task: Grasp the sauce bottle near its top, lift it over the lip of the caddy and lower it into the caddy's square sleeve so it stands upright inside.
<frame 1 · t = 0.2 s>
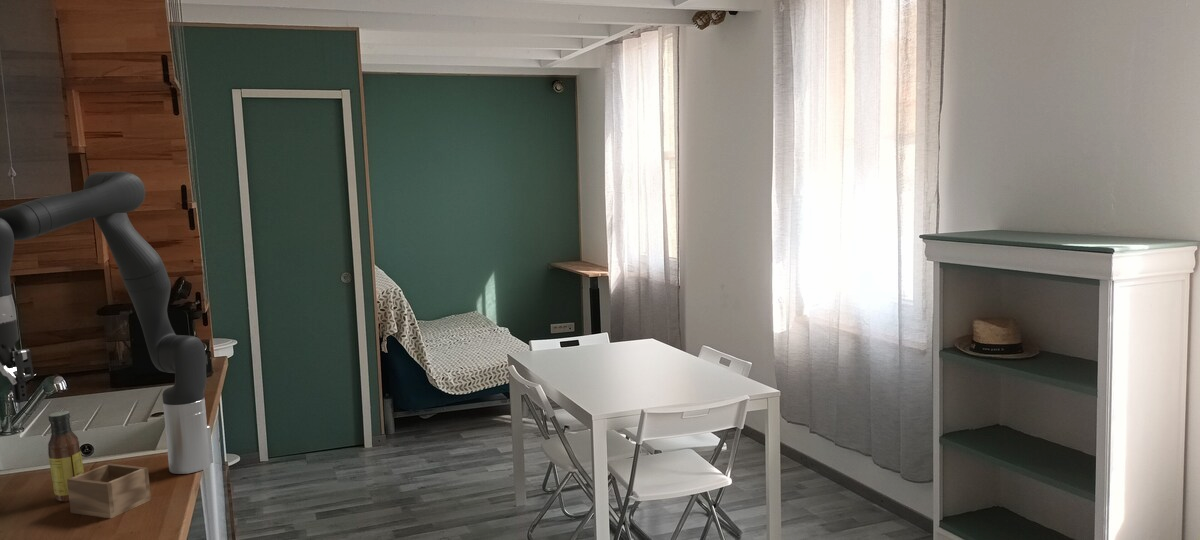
hand: (3, 401, 171), 29 cm above the table, fingers open, 8 cm apart
sauce bottle: (70, 498, 198), on the table
caddy: (111, 506, 192), on the table
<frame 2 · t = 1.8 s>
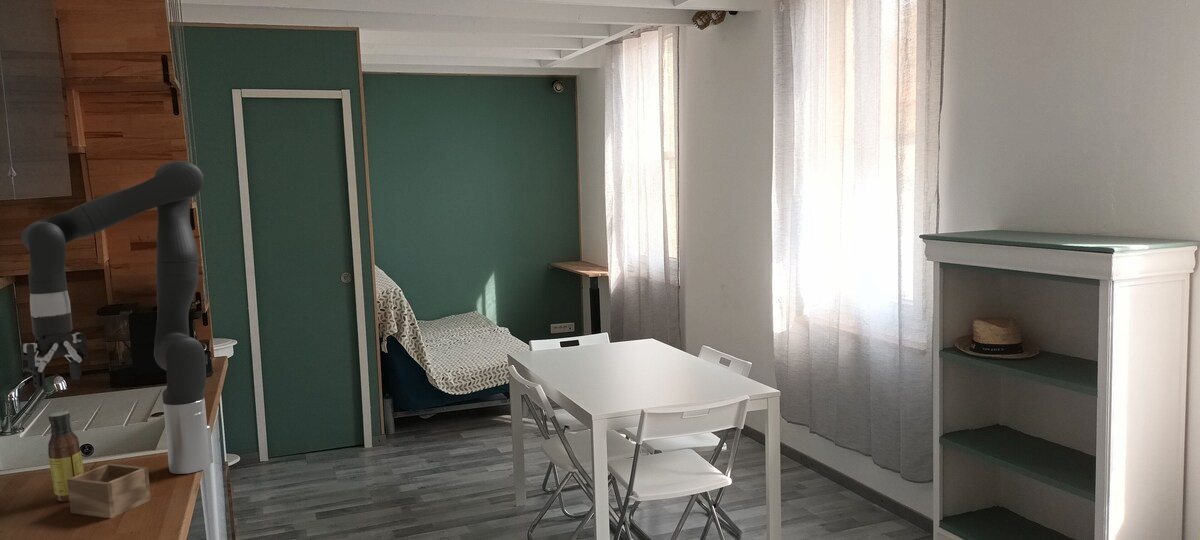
hand: (58, 383, 195), 26 cm above the table, fingers open, 8 cm apart
nothing on the table moved.
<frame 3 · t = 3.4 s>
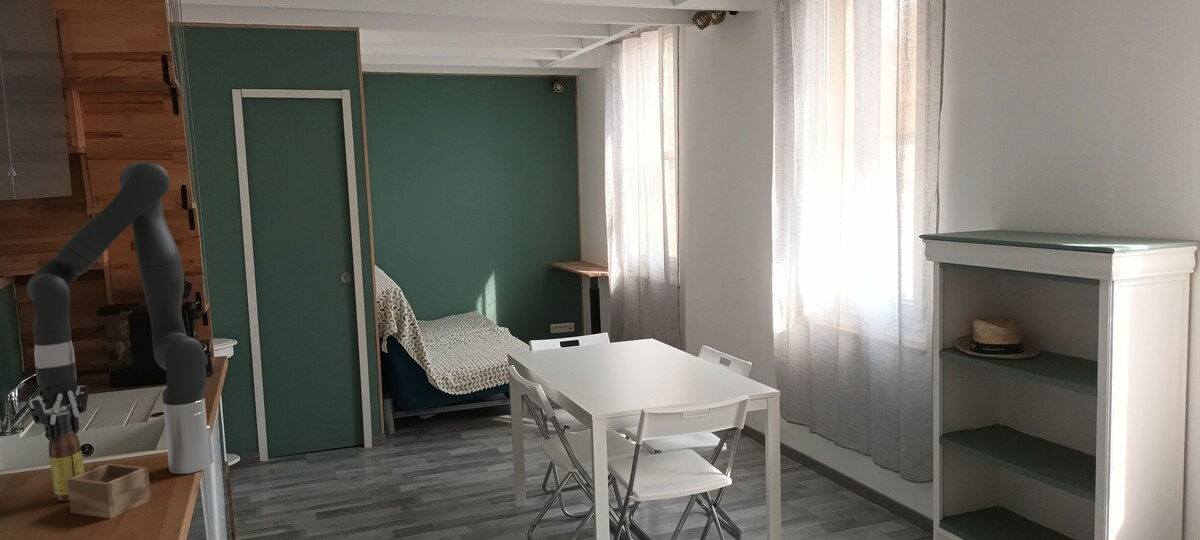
hand: (63, 436, 196), 14 cm above the table, fingers closed on sauce bottle, 4 cm apart
sauce bottle: (70, 498, 198), on the table, touching gripper
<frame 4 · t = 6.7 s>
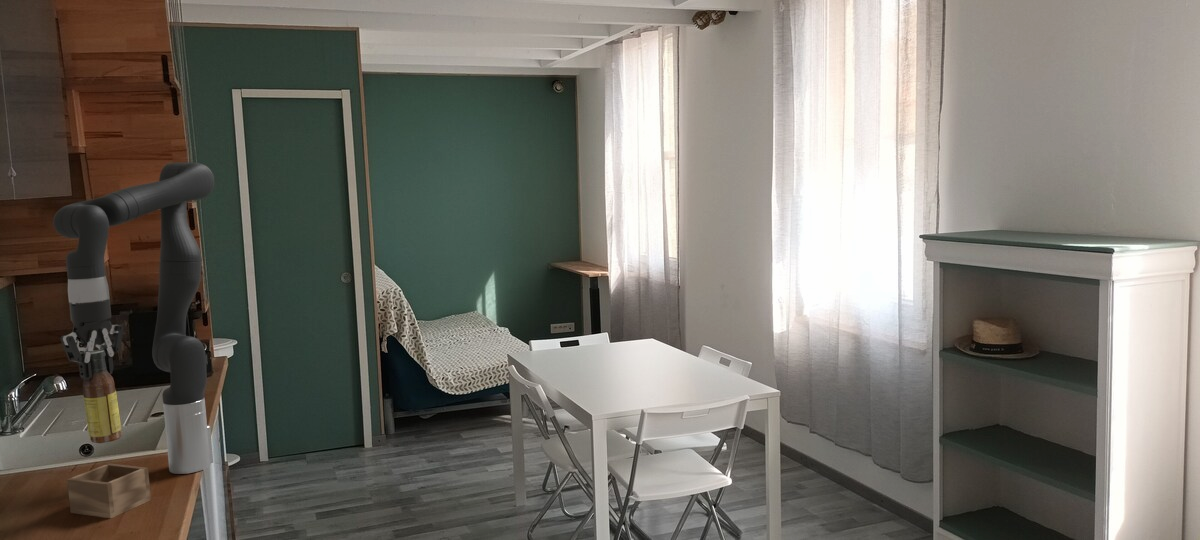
hand: (97, 376, 188), 29 cm above the table, fingers closed on sauce bottle, 4 cm apart
sauce bottle: (105, 441, 190), point 15 cm above the table, touching gripper
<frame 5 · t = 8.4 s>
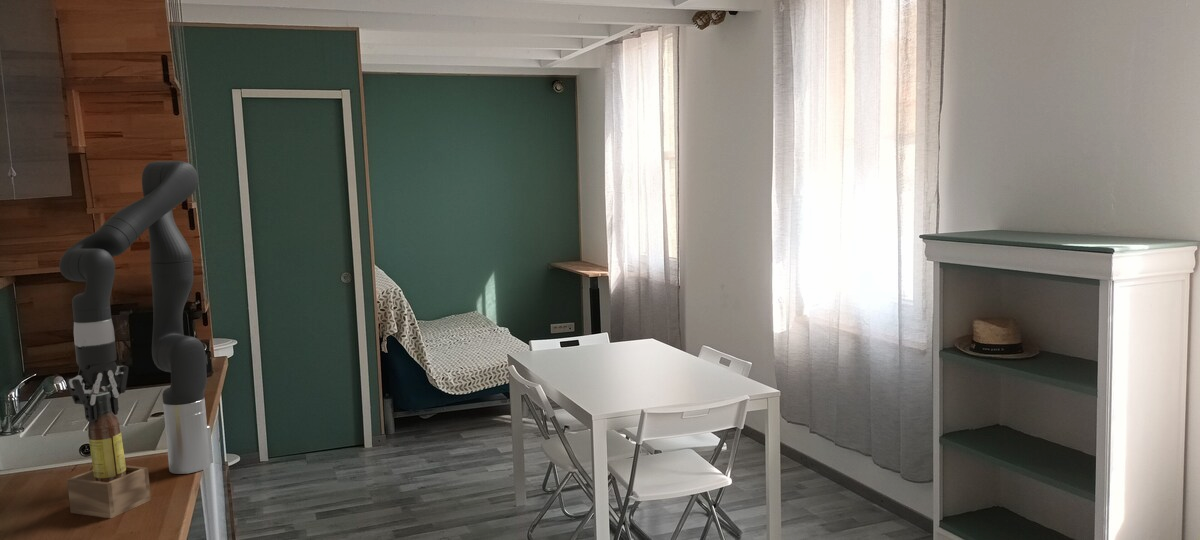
hand: (102, 417, 189), 20 cm above the table, fingers closed on sauce bottle, 4 cm apart
sauce bottle: (110, 481, 191), point 6 cm above the table, touching gripper
when the fingers open (17 cm above the table, at t = 9.8 s): sauce bottle drops 2 cm, resting on caddy.
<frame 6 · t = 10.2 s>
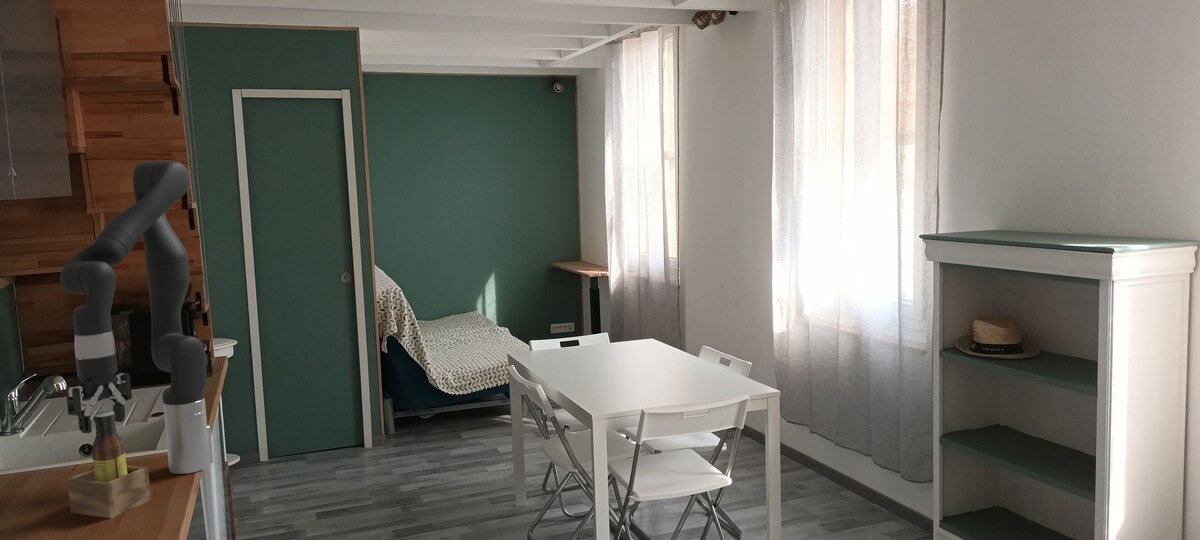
hand: (103, 426, 190), 18 cm above the table, fingers open, 8 cm apart
sauce bottle: (113, 501, 192), point 1 cm above the table, touching caddy
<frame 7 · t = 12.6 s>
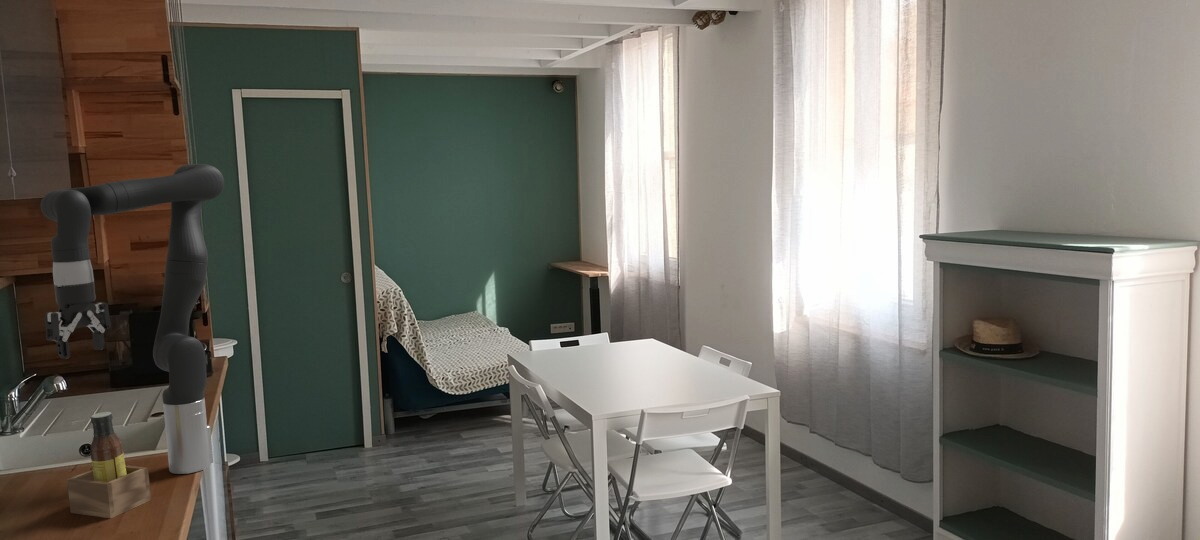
hand: (82, 353, 193), 33 cm above the table, fingers open, 8 cm apart
nothing on the table moved.
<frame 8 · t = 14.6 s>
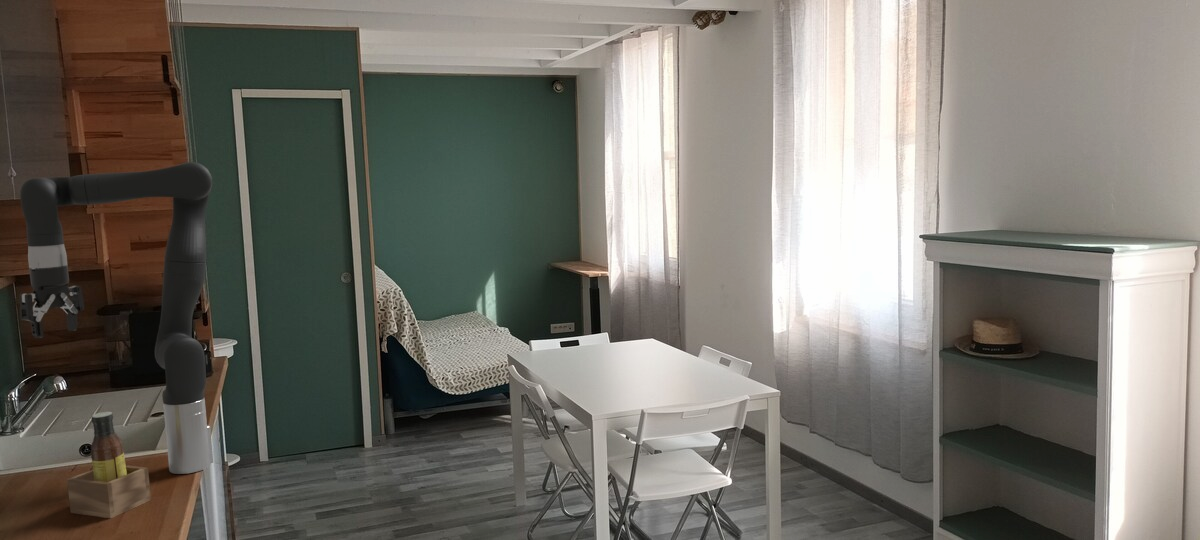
hand: (55, 334, 203), 36 cm above the table, fingers open, 8 cm apart
nothing on the table moved.
at the end: sauce bottle 0.5 cm off-centre on the caddy, point 0.8 cm above the caddy's base; sauce bottle tilted 0°; the gripper is holding nothing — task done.
